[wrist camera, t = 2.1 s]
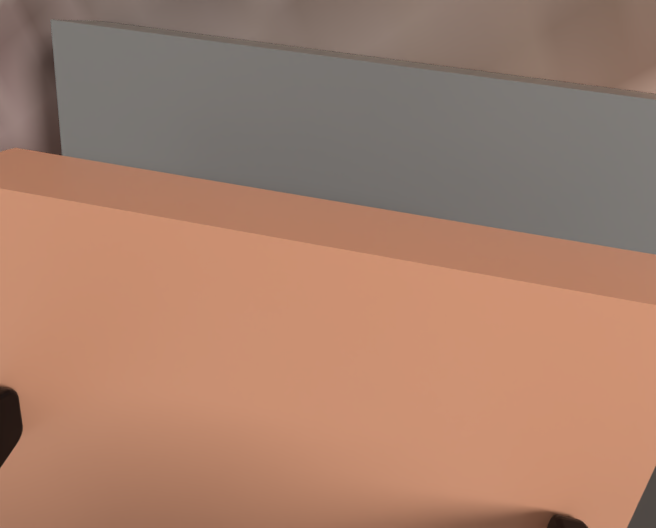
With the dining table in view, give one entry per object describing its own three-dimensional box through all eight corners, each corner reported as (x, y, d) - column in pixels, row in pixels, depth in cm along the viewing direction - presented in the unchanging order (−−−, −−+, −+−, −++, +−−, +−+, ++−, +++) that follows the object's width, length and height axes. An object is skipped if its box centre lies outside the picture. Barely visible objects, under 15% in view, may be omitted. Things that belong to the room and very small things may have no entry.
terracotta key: (520, 541, 13) (544, 705, 10) (91, 439, 14) (-8, 554, 11) (633, 224, 10) (724, 317, 7) (67, 133, 11) (-81, 174, 8)
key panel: (1135, 629, 15) (1230, 710, 13) (120, 400, 19) (86, 439, 17) (1592, 216, 10) (1837, 256, 8) (100, 21, 14) (50, 19, 12)
